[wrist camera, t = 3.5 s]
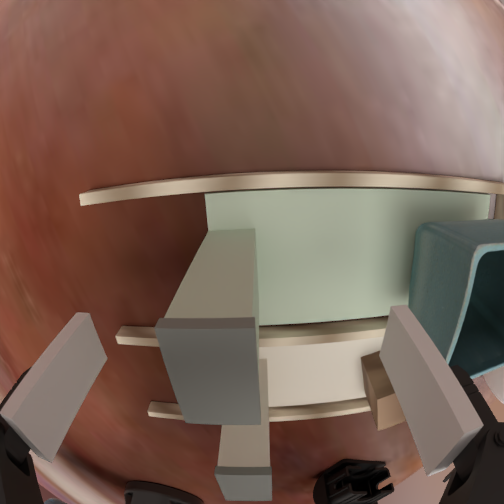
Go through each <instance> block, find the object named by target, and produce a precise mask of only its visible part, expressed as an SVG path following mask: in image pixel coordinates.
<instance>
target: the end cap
mask: <svg viewBox="0 0 504 504" xmlns="http://www.w3.org/2000/svg"><path fill="white" fill-rule="evenodd" d="M385 465H386V464H385V462H381V461H364V460H353V459H343V460H341V461H339V462H338V463H336V464H335V465H333V466H332V467H330V468H329V469H327V470H326V471H325V472H324V473H323V474H322V476H321V477H320V478H319V479H318V480H317V482H316V484H315V487H314V490H313V499H314V502H315V504H378V503H377V501H378V500H380V499H382V498H383V497H385V496H387V495H389V494H391V493H392V492H394V487H393V483H390V484H388V485H387V486H385V487H383V488H382V489H380V490H379V489H378V484H379V483H381V482H382V481H384V480H386V479H387V478H389V477H391V476H390V473H389V470H388V469H387V468H384V466H385Z"/></svg>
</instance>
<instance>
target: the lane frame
mask: <svg viewBox="0 0 504 504" xmlns="http://www.w3.org/2000/svg"><path fill="white" fill-rule="evenodd" d="M334 186H355V187H403V188H426V189H444V190H459V191H471V192H483V193H493V194H497V197H496V206H495V214H494V219H502V220H504V183H502V182H495V181H488V180H480V179H472V178H463V177H454V176H443V175H431V174H418V173H401V172H380V171H275V172H253V173H235V174H221V175H208V176H196V177H186V178H176V179H167V180H158V181H150V182H142V183H134V184H127V185H120V186H113V187H107V188H100V189H94V190H89V191H87V192H84V193H81V194H79V197H80V203H81V206H83V205H90V204H97V203H104V202H112V201H119V200H128V199H136V198H145V197H154V196H164V195H174V194H185V193H197V192H210V191H224V190H240V189H259V188H284V187H334ZM387 322H388V317H381V318H372V319H363V320H353V321H343V322H331V323H319V324H305V325H289V326H268V327H259V347H277V346H295V345H309V344H321V343H333V342H343V341H352V340H361V339H369V338H376V337H384V335H385V330H386V326H387ZM154 328H155V327H137V326H122V327H121V328H120V330H119V331H118V333H117V334H116V339H117V342H118V344H126V345H140V346H158V347H159V343H158V340H157V336H156V333H155V329H154ZM365 411H371V409H370V406H369V403H368V400H367V397H363V398H356V399H350V400H342V401H335V402H326V403H317V404H306V405H294V406H277V407H269V422H274V421H291V420H304V419H315V418H324V417H332V416H340V415H347V414H353V413H359V412H365ZM147 412H148V414H149V416H152V417H160V418H169V419H180V420H184V418H183V415H182V412H181V410H180V407H179V404H176V403H165V402H155V401H151V403H150V405H149V408H148V411H147Z"/></svg>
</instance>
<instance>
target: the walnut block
mask: <svg viewBox="0 0 504 504" xmlns="http://www.w3.org/2000/svg"><path fill="white" fill-rule="evenodd" d="M379 354H380V351H377V352H374V353H371V354H368V355H365V356H362V357H361V365H362V373H363V382H364V392H365V395H366V397H367V400H368V403H369V406H370V409H371V412H372V415H373V418H374V421H375V424H376V427H377V430H378V431H380V430H382V429H385V428H388V427H391V426H394V425H396V424H399V423H401V422H404V421H407V420H406V418H405V415H404V413H403V410H402V408H401V405H400V403H399V400H398V398H397V396H396V393H395V391H394V389H393V386H392V384H391V382H390V379H389V377H388V375H387V372H386V370H385V368H384V366H383V363H382V361H381V359H380V357H379Z"/></svg>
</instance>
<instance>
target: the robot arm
mask: <svg viewBox="0 0 504 504" xmlns="http://www.w3.org/2000/svg"><path fill="white" fill-rule="evenodd" d="M379 357H380V359H381V361H382V363H383V366H384V368H385V370H386V372H387V375H388V377H389V379H390V382H391V384H392V386H393V389H394V391H395V393H396V396H397V398H398V400H399V403H400V405H401V408H402V410H403V413H404V415H405V418H406V420H407V423H408V425H409V428H410V431H411V433H412V436H413V438H414V441H415V444H416V447H417V449H418V452H419V455H420V458H421V460H422V463H423V466H424V469H425V472H426V475H427V476H430V475H433V474H435V473H437V472H440V471H443V470H445V469H446V468H447V467H448V466H449V465H450V464H451V463H452V462H453V463H454V465H455V468H454V469H453V470H452V471H451V472H450V473H449V474H448V475H447V476H446V477H445V479H444V480H443V482H446V481H447V480H448V479H449V478H450V479H449V482H448V484H447V487H446V489H445V491H444V494H443V496H442V498H441V500H440V502H439V504H504V422H498V421H497V420H496V418H495V416H494V415H493V413H492V411H491V410H490V408H489V406H488V404H487V403H486V401H485V400H484V398H483V396H482V395H481V393H480V392H478V391H479V390H478V388H477V387H476V385H475V384H473V383H474V382H473V380H472V379H471V377H470V376H469V374H468V373H467V372H466V371H465V370H463V369H462V368H461V367H460V366H458V365H455V366H451V367H449V366H448V364H447V362H446V361H445V359H444V358H443V356H442V355H441V353H440V352H439V350H438V349H437V347H436V346H435V344H434V343H433V341H432V340H431V338H430V337H429V336H428V334H427V333H426V331H425V330H424V328H423V327H422V326H421V324H420V323H419V321H418V320H417V319H416V317H415V316H414V314H413V313H412V312H411V310H410V309H409V308H408V306H407V305H398V306H391V308H390V312H389V317H388V322H387V326H386V330H385V335H384V339H383V343H382V347H381V350H380V354H379ZM106 360H107V356H106V354H105V352H104V349H103V347H102V345H101V342H100V340H99V337H98V335H97V332H96V330H95V327H94V324H93V322H92V319H91V316H90V314H89V313H80V312H77V313H76V314H75V315H74V316H73V318H72V319H71V320H70V321H69V322H68V323H67V324H66V326H65V327H64V328H63V329H62V330H61V332H60V333H59V334H58V335H57V336H56V338H55V339H54V340H53V341H52V342H51V344H50V345H49V346H48V347H47V349H46V350H45V351H44V352H43V354H42V355H41V356H40V357H39V359H38V360H37V361H36V363H35V364H34V365H33V366H32V367H30V368H29V369H28V370H26V371H25V372H24V373H23V374H22V375H21V376H20V378H19V379H18V380H17V383H15V384H14V386H13V387H12V390H10V391H9V393H8V394H7V395H6V397H5V398H4V400H3V401H2V403H1V404H0V504H67V503H65V502H63V501H61V500H59V499H56V498H50V499H48V500H46V501H45V502H44V503H43V500H42V496H41V492H40V489H39V485H38V481H37V477H36V473H35V469H34V464H33V460H32V457H31V455H30V454H29V451H30V449H31V450H32V451H33V452H34V453H35V454H36V455H37V456H38V457H40V458H42V459H44V460H47V461H49V462H51V463H52V462H53V460H54V458H55V455H56V453H57V451H58V449H59V447H60V445H61V443H62V441H63V439H64V437H65V435H66V433H67V431H68V429H69V427H70V425H71V423H72V421H73V419H74V418H75V416H76V414H77V412H78V410H79V408H80V406H81V404H82V403H83V401H84V399H85V397H86V395H87V393H88V392H89V390H90V388H91V386H92V384H93V383H94V381H95V379H96V377H97V376H98V374H99V372H100V370H101V369H102V367H103V365H104V364H105V362H106ZM124 497H125V504H204V503H203V502H202V500H200V499H199V498H197V497H195V496H193V495H191V494H189V493H186V492H183V491H180V490H177V489H174V488H171V487H167V486H163V485H159V484H154V483H149V482H141V481H131V482H128V483H127V484H126V488H125V491H124Z"/></svg>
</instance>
